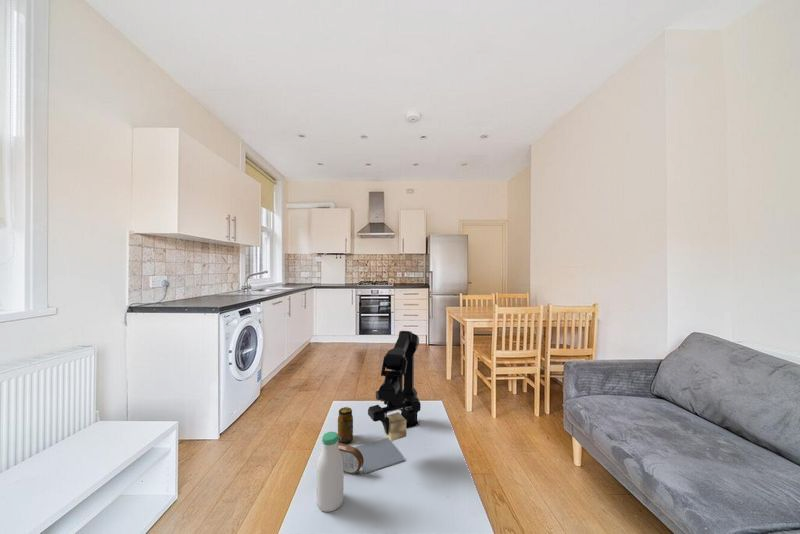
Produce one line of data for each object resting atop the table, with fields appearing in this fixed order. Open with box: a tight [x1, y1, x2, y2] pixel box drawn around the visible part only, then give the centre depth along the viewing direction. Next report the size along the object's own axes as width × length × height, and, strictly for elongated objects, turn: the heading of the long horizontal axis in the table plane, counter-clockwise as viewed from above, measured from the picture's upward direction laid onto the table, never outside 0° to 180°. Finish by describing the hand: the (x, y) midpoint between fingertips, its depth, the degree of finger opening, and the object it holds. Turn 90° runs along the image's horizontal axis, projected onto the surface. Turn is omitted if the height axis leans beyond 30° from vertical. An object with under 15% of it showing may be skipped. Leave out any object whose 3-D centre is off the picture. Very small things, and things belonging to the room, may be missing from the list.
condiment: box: [337, 406, 360, 446], centre depth 119 cm, size 7×8×12 cm
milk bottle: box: [316, 431, 344, 513], centre depth 88 cm, size 8×8×20 cm
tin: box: [337, 443, 364, 475], centre depth 102 cm, size 15×3×8 cm, turn 71°
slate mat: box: [354, 437, 406, 475], centre depth 110 cm, size 15×15×1 cm
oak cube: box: [383, 411, 407, 442], centre depth 106 cm, size 6×6×6 cm
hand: (394, 431), depth 106 cm, fingers closed on oak cube, 6 cm apart
